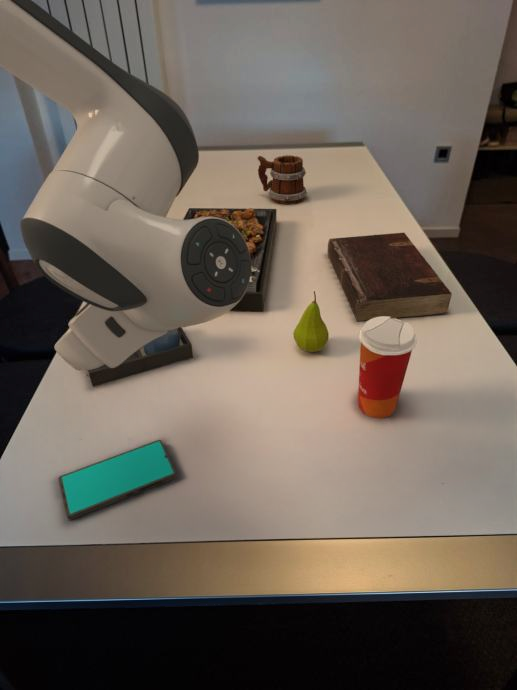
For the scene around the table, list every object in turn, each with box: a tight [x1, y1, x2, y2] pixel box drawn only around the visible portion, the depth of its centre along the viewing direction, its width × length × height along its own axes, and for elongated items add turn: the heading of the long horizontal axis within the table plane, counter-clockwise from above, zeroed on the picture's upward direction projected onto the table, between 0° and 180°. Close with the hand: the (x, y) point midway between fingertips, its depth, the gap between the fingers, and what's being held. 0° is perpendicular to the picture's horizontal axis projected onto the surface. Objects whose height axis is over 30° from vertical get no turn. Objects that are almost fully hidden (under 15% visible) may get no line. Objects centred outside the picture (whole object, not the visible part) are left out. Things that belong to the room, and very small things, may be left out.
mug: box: [257, 154, 308, 205], centre depth 151 cm, size 12×14×15 cm
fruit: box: [292, 290, 329, 353], centre depth 89 cm, size 6×6×12 cm
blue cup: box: [143, 328, 180, 355], centre depth 90 cm, size 7×7×10 cm
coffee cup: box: [357, 316, 418, 419], centre depth 76 cm, size 8×8×15 cm
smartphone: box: [57, 439, 177, 521], centre depth 70 cm, size 7×1×15 cm
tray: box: [87, 327, 194, 388], centre depth 91 cm, size 18×10×3 cm, turn 115°
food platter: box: [182, 207, 278, 313], centre depth 119 cm, size 45×25×10 cm, turn 175°
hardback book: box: [327, 232, 452, 322], centre depth 110 cm, size 29×19×5 cm, turn 5°
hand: (115, 306), depth 64 cm, fingers open, 8 cm apart
